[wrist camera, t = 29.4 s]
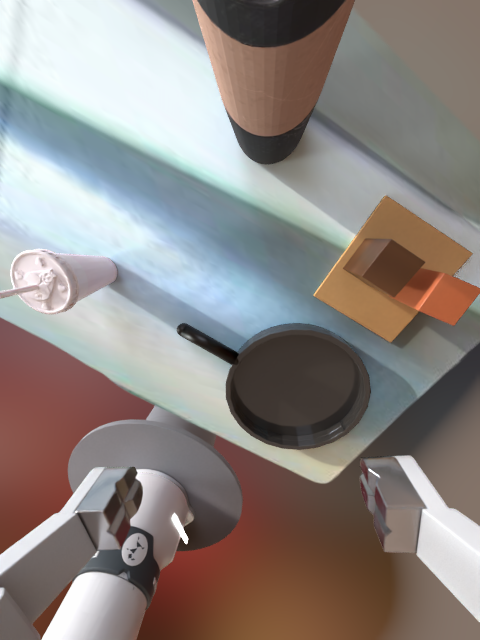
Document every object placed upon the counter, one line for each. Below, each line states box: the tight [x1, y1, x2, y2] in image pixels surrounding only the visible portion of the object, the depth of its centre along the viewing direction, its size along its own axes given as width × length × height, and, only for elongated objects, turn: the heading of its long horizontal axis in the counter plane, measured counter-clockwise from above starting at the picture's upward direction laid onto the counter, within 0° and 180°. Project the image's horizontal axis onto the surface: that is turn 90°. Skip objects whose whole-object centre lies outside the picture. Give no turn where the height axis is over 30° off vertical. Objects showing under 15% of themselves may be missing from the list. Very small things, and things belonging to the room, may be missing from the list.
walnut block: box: [343, 238, 425, 297], centre depth 25 cm, size 4×4×6 cm
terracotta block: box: [389, 268, 480, 326], centre depth 26 cm, size 4×4×6 cm
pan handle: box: [177, 323, 242, 365], centre depth 32 cm, size 2×10×2 cm, turn 60°
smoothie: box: [0, 249, 117, 314], centre depth 26 cm, size 6×6×14 cm
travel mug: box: [193, 0, 355, 164], centre depth 16 cm, size 8×8×20 cm
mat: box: [314, 196, 473, 342], centre depth 28 cm, size 13×12×1 cm
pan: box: [226, 323, 371, 450], centre depth 34 cm, size 19×19×2 cm
